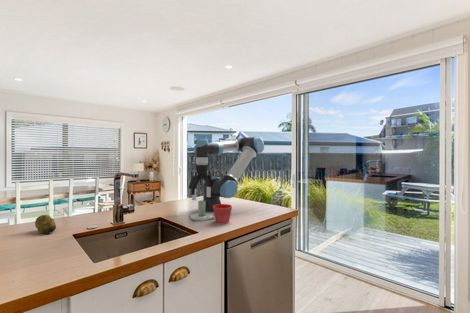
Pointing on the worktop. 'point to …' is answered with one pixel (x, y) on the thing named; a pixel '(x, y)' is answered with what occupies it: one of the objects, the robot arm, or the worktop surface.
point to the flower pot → (222, 213)
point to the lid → (201, 213)
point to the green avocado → (45, 224)
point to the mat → (205, 220)
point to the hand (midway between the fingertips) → (201, 198)
